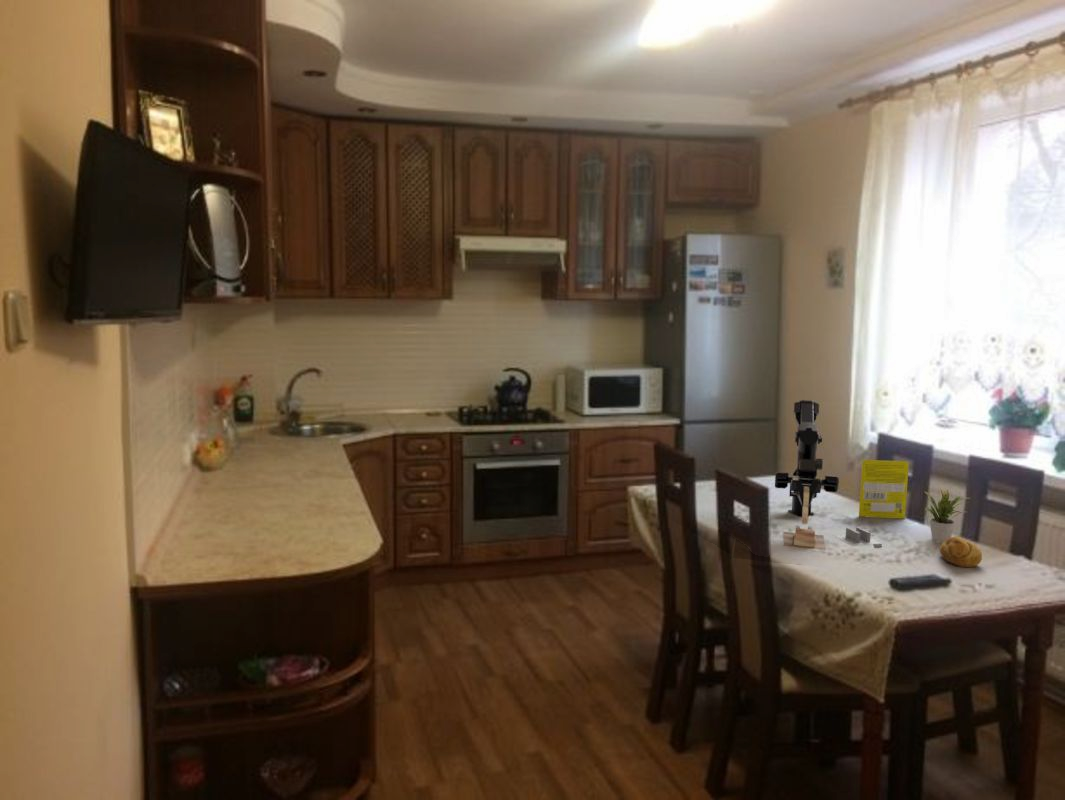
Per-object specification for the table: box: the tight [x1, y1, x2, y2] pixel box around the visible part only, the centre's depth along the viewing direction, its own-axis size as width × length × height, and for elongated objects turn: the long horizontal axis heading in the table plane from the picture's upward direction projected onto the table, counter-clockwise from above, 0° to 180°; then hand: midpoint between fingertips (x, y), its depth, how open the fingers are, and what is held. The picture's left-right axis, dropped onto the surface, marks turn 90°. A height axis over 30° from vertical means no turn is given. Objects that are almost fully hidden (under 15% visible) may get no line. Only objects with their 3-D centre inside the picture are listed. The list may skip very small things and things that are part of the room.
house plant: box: [923, 488, 973, 543], centre depth 259 cm, size 14×14×16 cm
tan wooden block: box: [801, 486, 809, 525], centre depth 257 cm, size 4×2×11 cm, turn 164°
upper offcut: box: [794, 528, 816, 540], centre depth 251 cm, size 4×5×2 cm, turn 74°
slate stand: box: [834, 526, 883, 548], centre depth 257 cm, size 10×10×4 cm
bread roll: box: [939, 536, 983, 568], centre depth 240 cm, size 13×10×8 cm
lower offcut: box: [794, 534, 816, 547], centre depth 252 cm, size 4×6×2 cm, turn 74°
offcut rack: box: [782, 525, 827, 551], centre depth 256 cm, size 15×12×4 cm
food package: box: [858, 459, 910, 519], centre depth 285 cm, size 15×1×20 cm, turn 84°
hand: (805, 505), depth 255 cm, fingers closed on tan wooden block, 1 cm apart
